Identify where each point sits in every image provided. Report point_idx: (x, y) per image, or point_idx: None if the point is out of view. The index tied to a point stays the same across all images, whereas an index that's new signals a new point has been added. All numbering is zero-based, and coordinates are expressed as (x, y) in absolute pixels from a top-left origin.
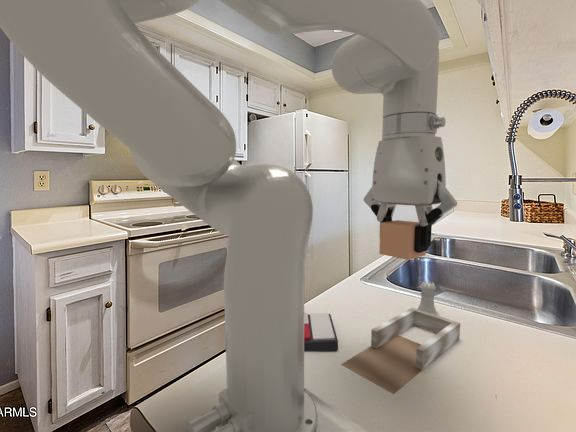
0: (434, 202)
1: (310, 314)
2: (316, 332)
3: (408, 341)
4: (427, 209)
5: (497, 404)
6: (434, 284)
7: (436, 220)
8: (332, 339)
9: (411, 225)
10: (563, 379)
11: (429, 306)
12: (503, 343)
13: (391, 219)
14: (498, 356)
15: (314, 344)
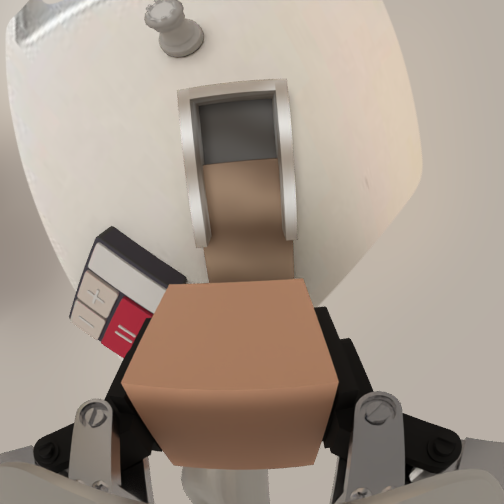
0: (426, 491)
1: (90, 268)
2: (146, 303)
3: (229, 169)
4: (373, 481)
5: (372, 197)
6: (175, 2)
7: (409, 420)
8: None
9: (309, 457)
10: (403, 81)
11: (185, 34)
12: (320, 28)
13: (133, 424)
14: (334, 74)
15: None
